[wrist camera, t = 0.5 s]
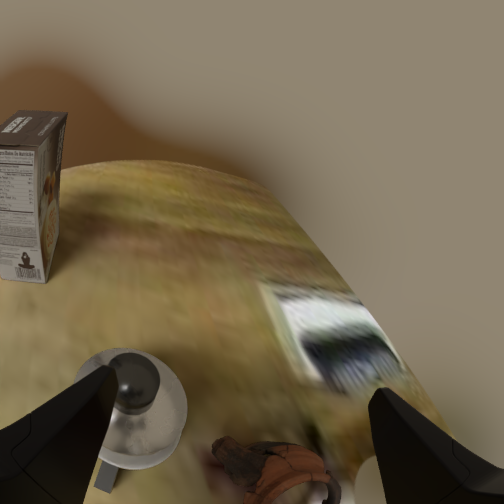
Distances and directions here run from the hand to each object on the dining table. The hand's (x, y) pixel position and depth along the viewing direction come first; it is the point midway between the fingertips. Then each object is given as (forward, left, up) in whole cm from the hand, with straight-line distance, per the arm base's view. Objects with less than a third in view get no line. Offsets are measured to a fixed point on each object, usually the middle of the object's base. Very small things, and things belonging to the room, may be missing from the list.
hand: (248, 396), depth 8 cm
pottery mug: (0, -8, -18) cm, 19 cm away
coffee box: (+13, +23, -17) cm, 32 cm away
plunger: (+1, +4, -10) cm, 11 cm away
